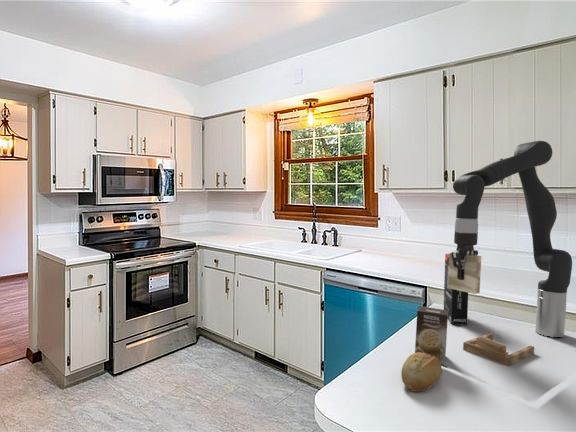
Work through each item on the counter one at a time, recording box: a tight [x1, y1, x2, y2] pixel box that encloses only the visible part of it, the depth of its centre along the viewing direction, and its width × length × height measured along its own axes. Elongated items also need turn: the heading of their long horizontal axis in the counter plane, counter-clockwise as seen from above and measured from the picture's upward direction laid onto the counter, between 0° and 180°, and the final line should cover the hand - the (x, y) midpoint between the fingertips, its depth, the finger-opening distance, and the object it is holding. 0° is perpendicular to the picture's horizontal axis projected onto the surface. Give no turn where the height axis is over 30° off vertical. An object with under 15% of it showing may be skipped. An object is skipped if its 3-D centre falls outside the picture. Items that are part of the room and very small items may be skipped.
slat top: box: [476, 337, 507, 353], centre depth 121 cm, size 4×8×2 cm, turn 23°
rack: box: [462, 332, 535, 367], centre depth 124 cm, size 17×14×4 cm
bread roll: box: [400, 352, 443, 392], centre depth 103 cm, size 10×15×8 cm, turn 143°
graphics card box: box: [443, 253, 469, 326], centre depth 160 cm, size 17×7×27 cm, turn 168°
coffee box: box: [414, 305, 449, 367], centre depth 118 cm, size 9×6×16 cm
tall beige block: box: [448, 252, 482, 295], centre depth 134 cm, size 4×10×13 cm, turn 34°
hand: (463, 278), depth 134 cm, fingers closed on tall beige block, 3 cm apart
